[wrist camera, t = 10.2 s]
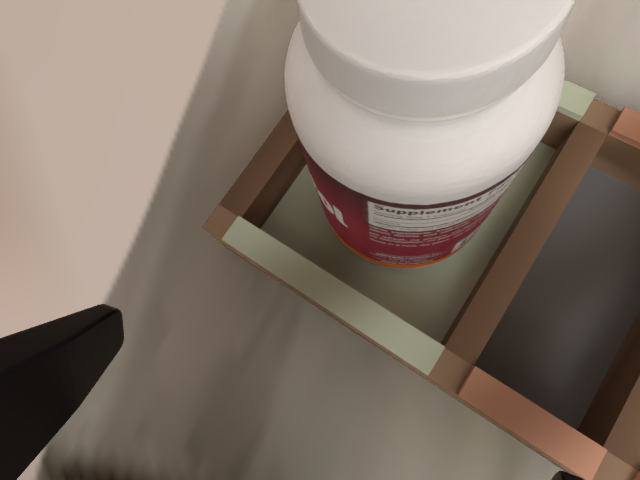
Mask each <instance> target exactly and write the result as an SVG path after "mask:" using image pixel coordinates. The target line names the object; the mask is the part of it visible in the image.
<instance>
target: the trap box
mask: <svg viewBox="0 0 640 480" xmlns="http://www.w3.org/2000/svg"><path fill="white" fill-rule="evenodd" d="M595 95H596V93H594V92H592V91H589V90H587V89H585V88H583V87H580V86H578V85H576V84H573V83H571V82H569V81H567V80H564V84H563V90H562V94H561V99H560V102H559V105H558V108H557V110H556V113H555V116H554V118H553V120H552V122H551V124H550V126H549V128H548V129H547V131H546V133H545V134H544V136H543V138H542V139H541V140H540V142H539V144H538V146H537V147H536V149H535V150H534V152H533V153H532V155H531V156H530V157H529V158H528V160H527V161H526V162H525V164H524V165H523V167H522V168H521V170H520V171H519V172H518V174H517V175H516V177H515V178H514V180H513V181H512V182H511V184H510V185H509V187H508V189H507V190H506V191H505V193H504V194H503V195H502V197H501V198H500V200H499V201H498V202H497V204H496V205H495V206H494V208H493V209H492V211H491V212H490V214H489V215H488V217H487V218H486V219H485V221H484V222H483V223H482V225H481V226H480V228H479V229H478V231H477V232H476V234H475V235H474V236H473V237H472V238H471V239H470V240H469V241H468V242H467V243H466V245H464V246H463V247H462V248H461V249H460V250H459V251H457V252H456V253H455V254H453V255H452V256H450V257H449V258H447V259H445V260H443V261H441V262H438V263H436V264H433V265H430V266H427V267H422V268H416V269H393V268H387V267H383V266H379V265H376V264H373V263H371V262H368V261H366V260H364V259H363V258H361V257H359V256H358V255H356V254H355V253H353V252H352V251H351V250H350V249H348V248H347V247H346V246H345V245H344V244H343V243H342V242H341V241H340V239H339V238H338V237H337V235H336V234H335V233H334V231H333V229H332V228H331V226H330V224H329V222H328V220H327V218H326V216H325V213H324V211H323V207H322V204H321V202H320V199H319V196H318V194H317V191H316V189H315V186H314V182H313V180H312V177H311V175H310V172H309V170H308V166H307V163H306V160H305V157H304V154H303V151H302V148H301V145H300V143H299V140H298V137H297V135H296V133H295V129H294V126H293V123H292V120H291V116H290V113H289V110H288V111H287V112H286V114H285V115H284V117H283V118H282V119H281V121H280V122H279V123H278V125H277V126H276V127H275V129H274V130H273V131H272V133H271V134H270V136H269V137H268V138H267V140H266V141H265V142H264V144H263V145H262V146H261V148H260V149H259V151H258V152H257V153H256V155H255V156H254V157H253V159H252V160H251V161H250V163H249V164H248V166H247V167H246V168H245V170H244V171H243V172H242V174H241V175H240V176H239V178H238V179H237V181H236V182H235V183H234V185H233V186H232V187H231V189H230V190H229V191H228V193H227V194H226V196H225V197H224V198H223V200H222V201H221V202H220V204H219V205H218V206H217V208H216V209H215V211H214V212H213V213H212V215H211V216H210V217H209V219H208V220H207V221H206V223H205V224H204V226H203V228H204V229H205V230H206V231H208V232H209V233H210V234H211V235H212V236H214V237H215V238H216V239H217V240H218V241H220V242H221V243H222V244H223V245H224V246H226V247H227V248H229V249H230V250H232V251H233V252H235V253H236V254H238V255H239V256H241V257H242V258H244V259H245V260H247V261H248V262H250V263H252V264H253V265H255V266H256V267H258V268H259V269H261V270H262V271H264V272H265V273H267V274H268V275H270V276H271V277H273V278H274V279H276V280H277V281H279V282H280V283H282V284H283V285H285V286H286V287H288V288H289V289H291V290H292V291H294V292H295V293H297V294H298V295H300V296H301V297H303V298H304V299H306V300H307V301H309V302H310V303H312V304H313V305H315V306H316V307H318V308H319V309H321V310H322V311H324V312H326V313H327V314H329V315H330V316H332V317H333V318H335V319H336V320H338V321H339V322H341V323H342V324H344V325H345V326H347V327H348V328H350V329H351V330H353V331H354V332H356V333H357V334H359V335H360V336H362V337H363V338H365V339H366V340H368V341H369V342H371V343H372V344H374V345H375V346H377V347H378V348H380V349H381V350H383V351H384V352H386V353H387V354H389V355H390V356H392V357H393V358H395V359H397V360H398V361H400V362H401V363H403V364H404V365H406V366H407V367H409V368H410V369H412V370H413V371H415V372H416V373H418V374H419V375H421V376H422V377H424V378H425V379H427V380H428V381H430V382H431V383H433V384H434V385H436V386H437V387H439V388H440V389H442V390H443V391H445V392H446V393H448V394H449V395H451V396H452V397H454V398H455V399H457V400H458V401H460V402H461V403H463V404H464V405H466V406H467V407H469V408H471V409H472V410H474V411H475V412H477V413H478V414H480V415H481V416H483V417H484V418H486V419H487V420H489V421H490V422H492V423H493V424H495V425H496V426H498V427H499V428H501V429H502V430H504V431H505V432H507V433H508V434H510V435H511V436H513V437H514V438H516V439H517V440H519V441H520V442H522V443H523V444H525V445H526V446H528V447H529V448H531V449H532V450H534V451H535V452H537V453H538V454H540V455H541V456H543V457H545V458H546V459H548V460H549V461H551V462H552V463H554V464H555V465H557V466H558V467H560V468H561V469H563V470H564V471H566V472H567V473H570V474H573V475H575V476H578V477H581V478H582V479H584V480H640V471H638V469H639V467H640V113H639V112H637V111H635V110H632V109H630V108H628V107H625V108H624V109H623V110H622V111H619V110H617V109H615V108H612V107H610V106H608V105H606V104H603V103H601V102H599V101H597V100H594V99H593V98H594V97H595Z"/></svg>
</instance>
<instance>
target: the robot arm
mask: <svg viewBox="0 0 640 480" xmlns="http://www.w3.org/2000/svg"><path fill="white" fill-rule="evenodd" d="M123 341H124V330H123V320H122V313H121V311H120V310H119V309H117V308H114V307H111V306H109V305H106V304H100V305H97V306H94V307H91V308H88V309H85V310H82V311H79V312H76V313H73V314H70V315H67V316H65V317H62V318H59V319H56V320H53V321H50V322H47V323H44V324H41V325H38V326H35V327H32V328H29V329H26V330H24V331H20V332H17V333H15V334H12V335H9V336H6V337H3V338H0V480H17V478H18V477H19V476H20V475H21V474H22V473H23V471H24V470H25V469H26V468H27V467H28V466H29V464H30V463H31V462H32V461H33V460H34V459H35V457H36V456H37V455H38V454H39V453H40V452H41V451H42V449H43V448H44V447H45V446H46V445H47V444H48V442H49V441H50V440H51V439H52V438H53V437H54V436H55V434H56V433H57V432H58V431H59V430H60V429H61V427H62V426H63V425H64V424H65V423H66V422H67V420H68V419H69V418H70V417H71V416H72V415H73V413H74V412H75V411H76V410H77V409H78V407H79V406H80V405H81V403H82V402H83V401H84V399H85V398H86V397H87V395H88V394H89V392H90V391H91V390H92V388H93V387H94V385H95V384H96V382H97V381H98V380H99V378H100V377H101V375H102V374H103V373H104V371H105V370H106V368H107V367H108V365H109V364H110V363H111V361H112V360H113V358H114V357H115V356H116V354H117V353H118V351H119V350H120V348H121V346H122V344H123ZM552 480H584V479H582V478H581V477H578V476H575V475H573V474H570V473H567V472H564V471H559V472H557V473H556V474H555V475H554V477H553V478H552Z"/></svg>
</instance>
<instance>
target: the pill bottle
mask: <svg viewBox="0 0 640 480" xmlns="http://www.w3.org/2000/svg"><path fill="white" fill-rule="evenodd" d="M296 1H297V6H298V10H299V15H300V20H299V22H298V23H297V25H296V27H295V30H294V32H293V35H292V37H291V40H290V43H289V47H288V51H287V55H286V61H285V70H284V85H285V95H286V101H287V105H288V110H289V113H290V116H291V120H292V123H293V126H294V129H295V133H296V135H297V137H298V140H299V143H300V145H301V148H302V151H303V154H304V157H305V160H306V163H307V166H308V170H309V172H310V175H311V177H312V180H313V182H314V186H315V189H316V191H317V194H318V196H319V199H320V202H321V204H322V207H323V211H324V213H325V216H326V218H327V220H328V222H329V224H330V226H331V228H332V229H333V231H334V233H335V234H336V235H337V237H338V238H339V239H340V241H341V242H342V243H343V244H344V245H345V246H346V247H347V248H348V249H350V250H351V251H352V252H353V253H355V254H356V255H358V256H359V257H361V258H363V259H364V260H366V261H368V262H371V263H373V264H376V265H379V266H383V267H387V268H393V269H416V268H422V267H427V266H430V265H433V264H436V263H438V262H441V261H443V260H445V259H447V258H449V257H450V256H452V255H453V254H455V253H456V252H457V251H459V250H460V249H461V248H462V247H463V246H464V245H466V243H467V242H468V241H469V240H470V239H471V238H472V237H473V236H474V235H475V234H476V232H477V231H478V229H479V228H480V226H481V225H482V223H483V222H484V221H485V219H486V218H487V217H488V215H489V214H490V212H491V211H492V209H493V208H494V206H495V205H496V204H497V202H498V201H499V200H500V198H501V197H502V195H503V194H504V193H505V191H506V190H507V189H508V187H509V185H510V184H511V182H512V181H513V180H514V178H515V177H516V175H517V174H518V172H519V171H520V170H521V168H522V167H523V165H524V164H525V162H526V161H527V160H528V158H529V157H530V156H531V155H532V153H533V152H534V150H535V149H536V147H537V146H538V144H539V142H540V140H541V139H542V138H543V136H544V134H545V133H546V131H547V129H548V128H549V126H550V124H551V122H552V120H553V118H554V116H555V113H556V110H557V108H558V105H559V102H560V99H561V94H562V90H563V84H564V77H565V60H564V50H563V45H562V41H561V37H560V34H561V32H562V30H563V27H564V25H565V23H566V20H567V18H568V16H569V14H570V11H571V9H572V7H573V5H574V3H575V1H576V0H296Z"/></svg>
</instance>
